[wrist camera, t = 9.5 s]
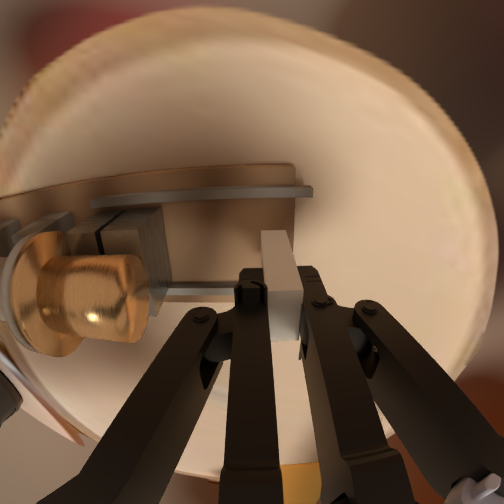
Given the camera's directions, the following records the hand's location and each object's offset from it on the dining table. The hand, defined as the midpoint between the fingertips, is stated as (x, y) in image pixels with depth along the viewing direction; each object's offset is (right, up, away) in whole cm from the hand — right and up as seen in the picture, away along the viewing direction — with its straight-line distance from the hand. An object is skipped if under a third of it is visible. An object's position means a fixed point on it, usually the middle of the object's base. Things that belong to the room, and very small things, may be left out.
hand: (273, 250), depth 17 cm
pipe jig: (-12, +1, +3) cm, 13 cm away
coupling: (-10, 0, +2) cm, 10 cm away
